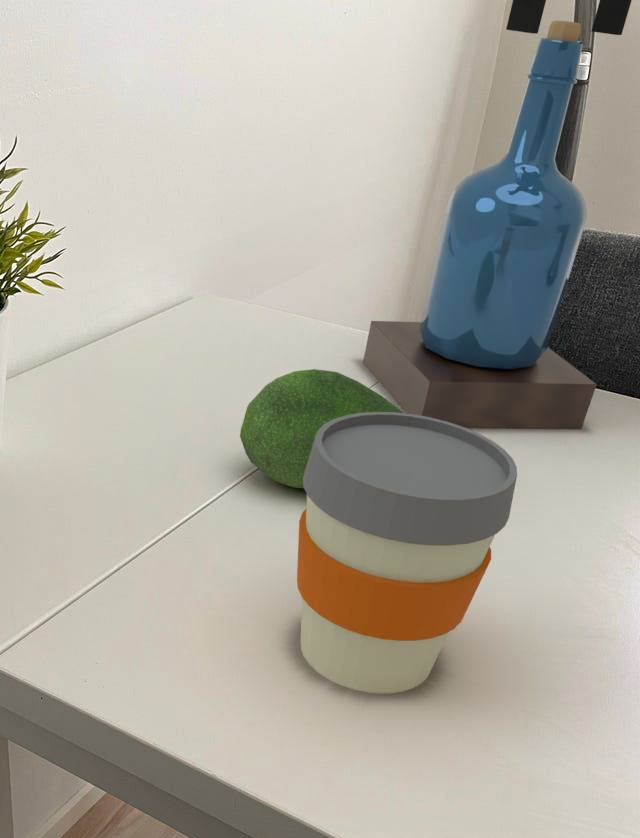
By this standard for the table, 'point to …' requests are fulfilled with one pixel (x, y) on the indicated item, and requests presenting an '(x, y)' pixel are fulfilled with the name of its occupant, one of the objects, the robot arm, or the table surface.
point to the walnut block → (475, 385)
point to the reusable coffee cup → (394, 543)
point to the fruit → (300, 419)
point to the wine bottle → (511, 231)
